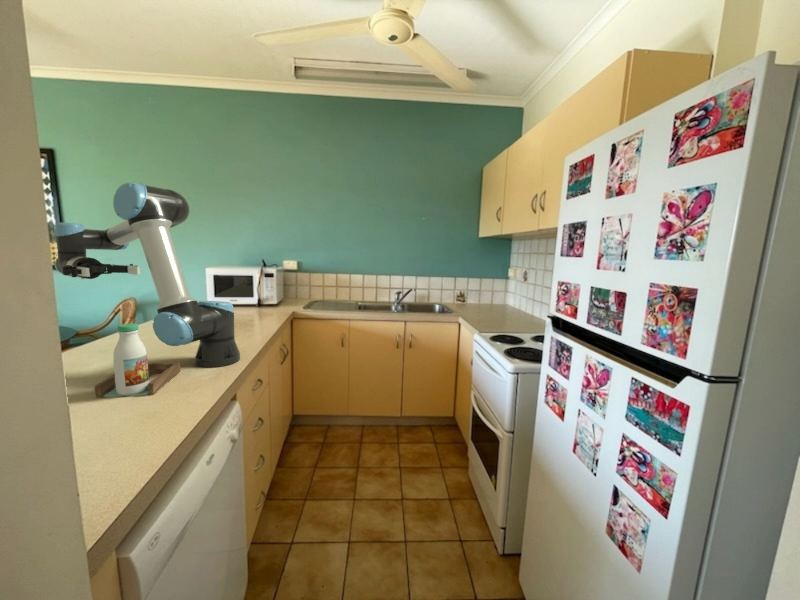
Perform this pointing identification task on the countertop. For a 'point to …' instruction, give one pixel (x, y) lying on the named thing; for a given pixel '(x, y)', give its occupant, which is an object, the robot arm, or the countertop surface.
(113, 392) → the pad
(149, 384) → the bay
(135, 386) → the milk bottle
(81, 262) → the robot arm
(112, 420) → the countertop surface
